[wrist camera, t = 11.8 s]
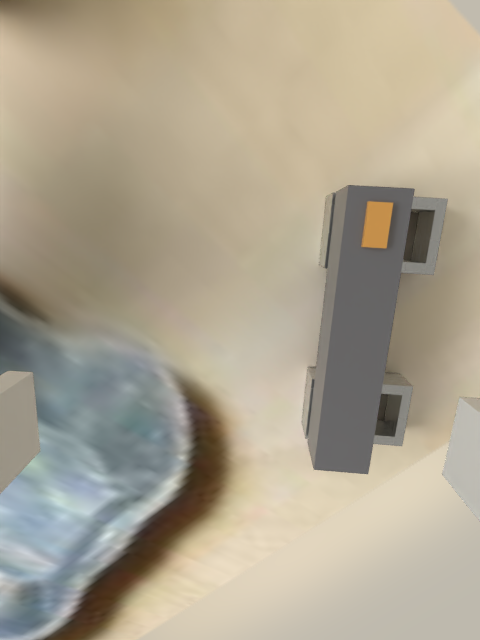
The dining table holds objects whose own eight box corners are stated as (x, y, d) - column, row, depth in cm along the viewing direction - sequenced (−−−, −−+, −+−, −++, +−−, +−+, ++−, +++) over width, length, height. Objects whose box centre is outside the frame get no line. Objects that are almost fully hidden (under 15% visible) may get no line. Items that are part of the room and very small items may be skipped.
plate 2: (318, 264, 33) (324, 267, 30) (326, 196, 32) (333, 192, 29) (418, 271, 33) (433, 274, 30) (430, 202, 31) (447, 198, 28)
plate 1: (301, 422, 37) (305, 438, 34) (307, 367, 35) (312, 379, 32) (390, 429, 36) (402, 446, 34) (400, 373, 35) (413, 386, 32)
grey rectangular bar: (302, 422, 37) (314, 472, 29) (327, 196, 32) (349, 184, 24) (346, 425, 37) (369, 477, 29) (378, 199, 31) (417, 187, 24)
